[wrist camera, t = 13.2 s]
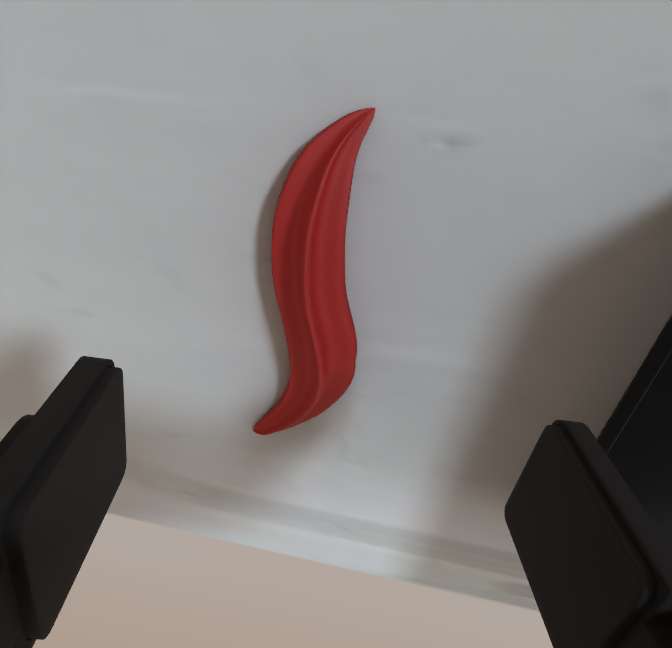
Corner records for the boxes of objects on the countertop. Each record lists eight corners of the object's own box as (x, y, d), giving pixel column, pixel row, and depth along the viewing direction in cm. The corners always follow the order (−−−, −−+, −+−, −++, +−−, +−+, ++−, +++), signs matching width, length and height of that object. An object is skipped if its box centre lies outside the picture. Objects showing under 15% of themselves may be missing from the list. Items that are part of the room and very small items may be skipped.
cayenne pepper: (308, 446, 19) (307, 485, 18) (192, 411, 18) (180, 449, 16) (474, 157, 14) (496, 174, 12) (324, 82, 13) (326, 89, 11)
